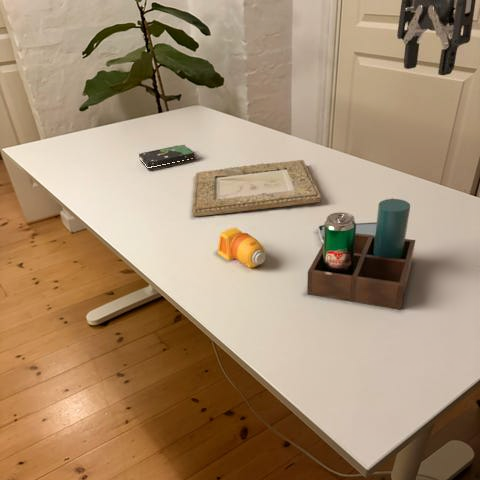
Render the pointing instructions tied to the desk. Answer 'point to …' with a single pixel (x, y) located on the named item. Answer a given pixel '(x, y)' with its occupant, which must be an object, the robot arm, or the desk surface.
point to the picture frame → (253, 188)
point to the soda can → (339, 243)
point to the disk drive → (167, 157)
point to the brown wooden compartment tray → (364, 276)
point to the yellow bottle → (241, 247)
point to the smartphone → (360, 228)
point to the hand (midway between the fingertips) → (426, 71)
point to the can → (391, 228)
